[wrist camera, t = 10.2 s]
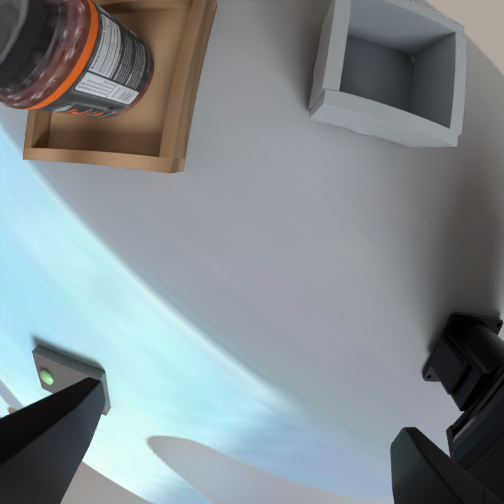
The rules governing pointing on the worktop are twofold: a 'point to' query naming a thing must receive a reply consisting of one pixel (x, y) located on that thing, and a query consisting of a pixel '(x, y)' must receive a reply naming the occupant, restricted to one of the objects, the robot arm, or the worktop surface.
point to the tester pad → (64, 372)
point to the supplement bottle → (70, 59)
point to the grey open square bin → (391, 72)
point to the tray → (152, 103)
